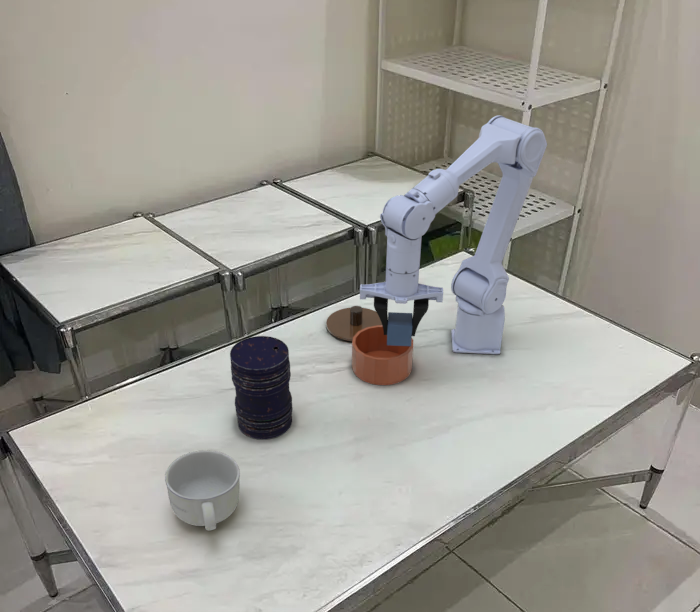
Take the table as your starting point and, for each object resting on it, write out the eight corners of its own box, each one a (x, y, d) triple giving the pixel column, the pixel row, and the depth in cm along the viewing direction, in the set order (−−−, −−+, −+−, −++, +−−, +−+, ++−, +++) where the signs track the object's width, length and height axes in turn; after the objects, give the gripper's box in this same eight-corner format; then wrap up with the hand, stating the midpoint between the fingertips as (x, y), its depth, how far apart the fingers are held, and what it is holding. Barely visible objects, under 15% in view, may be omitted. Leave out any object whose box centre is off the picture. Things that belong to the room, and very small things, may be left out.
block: (411, 333, 134) (412, 313, 132) (411, 346, 131) (412, 326, 128) (387, 332, 135) (388, 312, 132) (386, 345, 131) (387, 325, 128)
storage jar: (247, 446, 123) (239, 376, 113) (229, 412, 130) (221, 344, 121) (301, 430, 126) (298, 360, 117) (281, 398, 133) (277, 330, 124)
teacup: (176, 486, 115) (169, 449, 110) (245, 482, 116) (240, 445, 111) (166, 555, 104) (157, 518, 99) (241, 551, 105) (237, 513, 100)
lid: (386, 312, 157) (387, 294, 154) (384, 345, 147) (385, 326, 144) (329, 310, 158) (329, 292, 155) (323, 342, 148) (323, 323, 145)
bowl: (411, 351, 145) (413, 326, 142) (411, 386, 136) (413, 360, 132) (354, 349, 146) (354, 324, 142) (350, 383, 137) (350, 357, 133)
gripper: (359, 276, 121) (358, 343, 129) (446, 279, 120) (439, 346, 128) (361, 256, 126) (360, 322, 135) (444, 259, 126) (438, 325, 134)
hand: (399, 332), depth 132 cm, fingers closed on block, 4 cm apart
